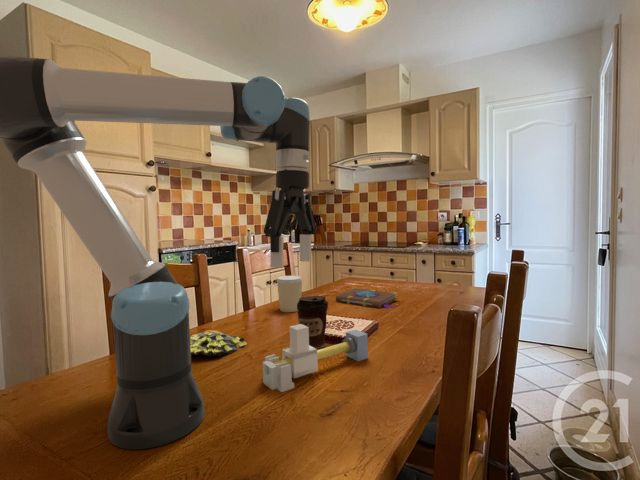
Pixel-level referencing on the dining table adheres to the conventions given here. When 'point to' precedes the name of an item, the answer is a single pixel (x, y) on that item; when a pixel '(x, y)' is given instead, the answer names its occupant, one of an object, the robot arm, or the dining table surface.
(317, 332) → the coffee cup
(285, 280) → the coffee cup
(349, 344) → the slide rail
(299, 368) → the sliding rod carriage
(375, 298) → the book
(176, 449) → the dining table surface
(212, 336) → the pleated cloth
